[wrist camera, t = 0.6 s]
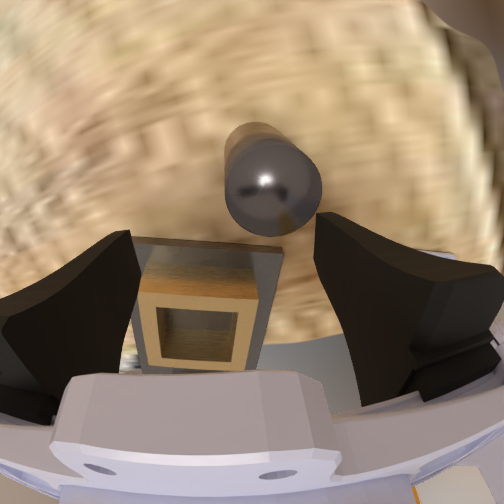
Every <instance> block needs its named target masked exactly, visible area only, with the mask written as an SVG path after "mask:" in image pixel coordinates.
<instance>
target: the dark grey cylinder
mask: <svg viewBox="0 0 504 504" xmlns="http://www.w3.org/2000/svg"><path fill="white" fill-rule="evenodd" d="M224 157H225V200H226V204H227V208H228V210H229V212H230V214H231V216H232V217H233V219H234V220H235V221H236V222H237V223H238V224H239V225H240V226H241V227H243V228H244V229H246V230H247V231H249V232H251V233H254V234H257V235H261V236H268V237H274V236H282V235H286V234H289V233H291V232H294V231H296V230H297V229H299V228H301V227H302V226H303V225H305V224H306V223H307V222H308V221H309V220H310V219H311V218H312V216H313V215H314V213H315V212H316V210H317V208H318V206H319V203H320V200H321V196H322V181H321V177H320V174H319V172H318V169H317V168H316V166H315V164H314V163H313V162H312V161H311V159H310V158H308V157H307V156H306V155H305V154H304V153H303V152H302V151H301V150H299V149H298V148H297V147H296V146H295V145H294V144H292V143H291V142H290V141H289V140H288V139H287V138H285V137H284V136H283V135H282V134H280V133H279V132H278V131H277V130H276V129H274V128H273V127H271V126H270V125H267V124H265V123H260V122H251V123H246V124H243V125H241V126H239V127H238V128H236V129H235V130H234V131H233V132H232V133H231V134H230V136H229V137H228V139H227V141H226V144H225V152H224Z"/></svg>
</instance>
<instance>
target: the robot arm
mask: <svg viewBox="0 0 504 504" xmlns="http://www.w3.org/2000/svg"><path fill="white" fill-rule="evenodd" d="M313 259H314V262H315V265H316V269H317V272H318V275H319V278H320V281H321V283H322V285H323V287H324V289H325V291H326V294H327V296H328V298H329V300H330V302H331V304H332V306H333V308H334V311H335V313H336V315H337V317H338V319H339V321H340V324H341V327H342V329H343V332H344V335H345V338H346V342H347V345H348V348H349V352H350V356H351V360H352V363H353V367H354V371H355V375H356V380H357V385H358V390H359V394H360V400H361V405H362V407H361V408H357V409H353V410H349V411H345V412H340V413H336V414H330V412H329V408H328V405H327V401H326V397H325V394H324V390H323V387H322V383H321V382H319V381H316V380H314V379H312V378H310V377H307V376H305V375H302V374H300V373H298V372H295V371H292V370H264V369H255V370H244V371H231V372H216V373H196V374H119V366H120V359H121V352H122V346H123V342H124V338H125V335H126V331H127V328H128V325H129V321H130V318H131V315H132V312H133V309H134V305H135V302H136V299H137V296H138V292H139V286H140V280H141V274H142V273H141V269H140V266H139V263H138V259H137V256H136V252H135V248H134V245H133V241H132V237H131V234H130V230H123V231H115V232H113V233H111V234H109V235H108V236H106V237H104V238H103V239H101V240H100V241H98V242H97V243H96V244H94V245H93V246H91V247H90V248H89V249H87V250H86V251H84V252H83V253H82V254H80V255H79V256H77V257H76V258H74V259H73V260H71V261H70V262H69V263H67V264H66V265H64V266H63V267H61V268H60V269H58V270H57V271H55V272H53V273H52V274H50V275H48V276H47V277H45V278H43V279H42V280H40V281H38V282H36V283H34V284H32V285H30V286H28V287H26V288H24V289H22V290H20V291H18V292H16V293H13V294H11V295H9V296H6V297H4V298H1V299H0V473H1V474H3V475H4V476H6V477H8V478H10V479H12V480H15V481H17V482H19V483H21V484H23V485H25V486H27V487H29V488H32V489H34V490H36V491H38V492H41V493H43V494H45V495H48V496H51V497H53V498H56V499H58V500H60V501H59V504H417V503H416V500H415V497H414V493H413V490H412V487H413V486H415V485H417V484H419V483H422V482H424V481H426V480H428V479H430V478H432V477H434V476H436V475H438V474H440V473H442V472H443V471H445V470H447V469H449V468H451V467H453V466H475V467H478V468H479V470H480V472H481V474H482V476H483V478H484V479H485V481H486V484H487V485H488V487H489V489H490V491H491V493H492V495H493V497H494V499H495V501H496V503H497V504H504V324H503V323H502V322H501V320H500V319H499V318H498V317H497V313H498V312H499V310H500V308H501V306H502V303H503V301H504V276H503V275H502V274H501V273H500V272H499V271H498V270H497V269H496V268H495V267H493V266H491V265H485V264H477V263H469V262H463V261H457V260H455V259H456V256H455V255H454V254H452V253H443V252H434V251H424V250H415V249H412V248H410V247H407V246H404V245H402V244H399V243H396V242H394V241H392V240H389V239H387V238H385V237H383V236H381V235H378V234H376V233H374V232H372V231H370V230H368V229H366V228H364V227H362V226H360V225H358V224H356V223H354V222H353V221H351V220H349V219H347V218H345V217H342V216H340V215H338V214H336V213H333V212H326V213H316V228H315V243H314V258H313Z"/></svg>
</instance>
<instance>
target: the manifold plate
mask: <svg viewBox="0 0 504 504" xmlns="http://www.w3.org/2000/svg"><path fill="white" fill-rule="evenodd" d="M131 237H132V241H133V245H134V248H135V252H136V256H137V259H138V263H139V266H140V269H141V273H142V274H141V280H140V286H139V292H138V296H137V299H136V302H135V305H134V309H133V312H132V315H131V322H132V327H133V332H134V337H135V342H136V347H137V351H138V356H139V360H140V365H141V369H142V373H143V374H196V373H216V372H231V371H244V370H255V369H256V367H257V363H258V359H259V355H260V351H261V347H262V343H263V339H264V335H265V331H266V327H267V323H268V319H269V314H270V310H271V306H272V302H273V298H274V293H275V289H276V285H277V280H278V276H279V272H280V267H281V263H282V258H283V251H282V248H281V247H273V246H260V245H247V244H233V243H219V242H205V241H191V240H177V239H162V238H148V237H133V236H131Z"/></svg>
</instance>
